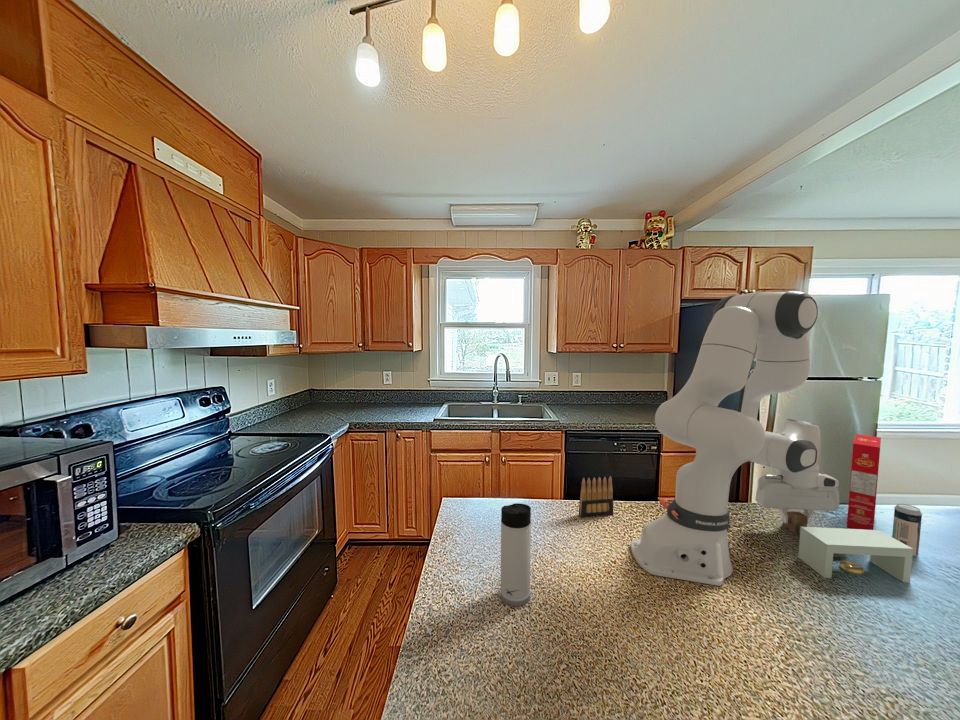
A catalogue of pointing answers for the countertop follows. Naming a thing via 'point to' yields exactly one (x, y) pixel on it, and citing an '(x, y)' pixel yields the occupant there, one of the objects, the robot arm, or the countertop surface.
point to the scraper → (801, 525)
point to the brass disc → (851, 567)
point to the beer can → (907, 526)
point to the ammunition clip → (596, 498)
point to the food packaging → (863, 482)
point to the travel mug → (515, 553)
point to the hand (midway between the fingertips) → (794, 522)
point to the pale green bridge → (854, 549)
